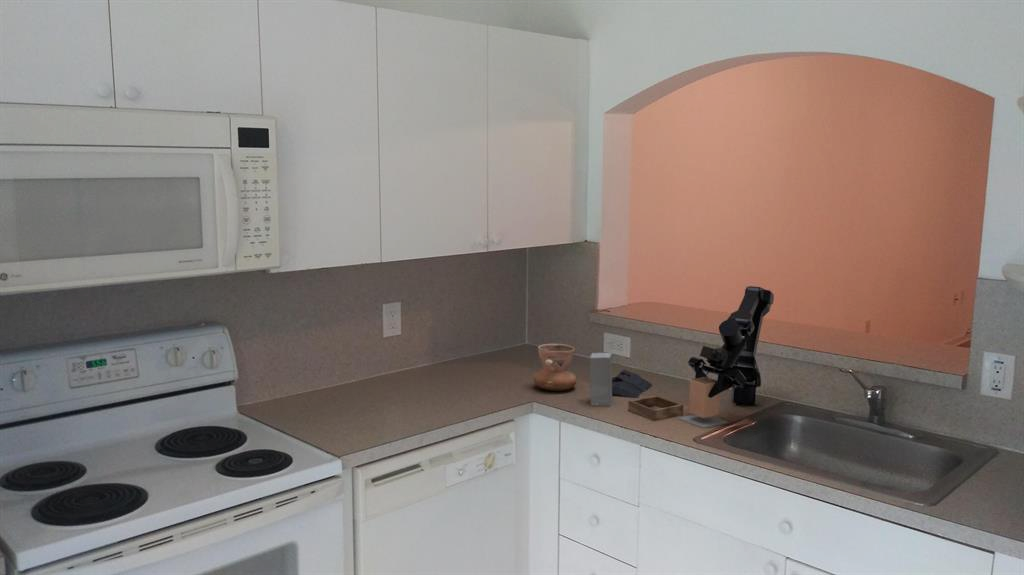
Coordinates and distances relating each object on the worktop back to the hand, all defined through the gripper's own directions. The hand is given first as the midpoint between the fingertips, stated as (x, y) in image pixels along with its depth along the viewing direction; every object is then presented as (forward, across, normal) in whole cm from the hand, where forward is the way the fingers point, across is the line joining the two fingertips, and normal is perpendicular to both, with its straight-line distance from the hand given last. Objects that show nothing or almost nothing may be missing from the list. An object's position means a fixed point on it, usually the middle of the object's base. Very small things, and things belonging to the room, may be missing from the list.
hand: (701, 394), depth 234 cm
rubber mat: (+5, 0, +7) cm, 9 cm away
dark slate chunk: (+4, -39, +10) cm, 40 cm away
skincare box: (+15, -30, -3) cm, 34 cm away
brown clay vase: (+17, -52, -4) cm, 55 cm away
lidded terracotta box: (+3, 0, +5) cm, 6 cm away
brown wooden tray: (+10, -13, +2) cm, 17 cm away
